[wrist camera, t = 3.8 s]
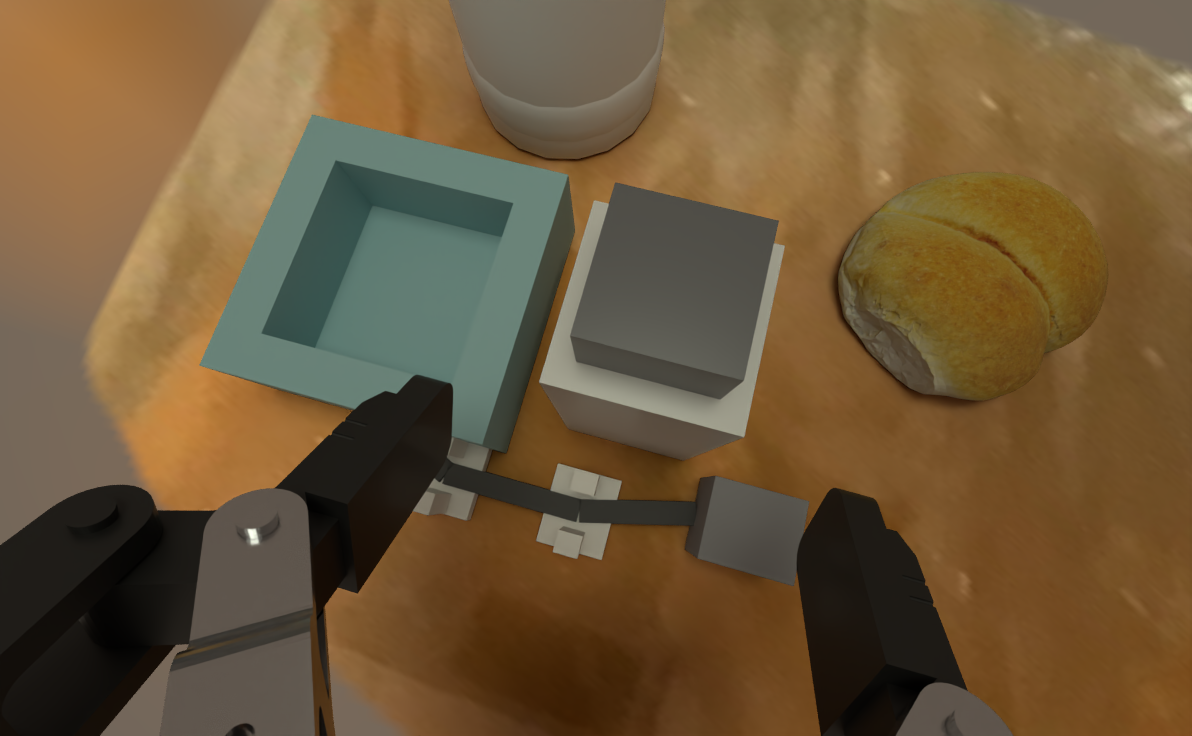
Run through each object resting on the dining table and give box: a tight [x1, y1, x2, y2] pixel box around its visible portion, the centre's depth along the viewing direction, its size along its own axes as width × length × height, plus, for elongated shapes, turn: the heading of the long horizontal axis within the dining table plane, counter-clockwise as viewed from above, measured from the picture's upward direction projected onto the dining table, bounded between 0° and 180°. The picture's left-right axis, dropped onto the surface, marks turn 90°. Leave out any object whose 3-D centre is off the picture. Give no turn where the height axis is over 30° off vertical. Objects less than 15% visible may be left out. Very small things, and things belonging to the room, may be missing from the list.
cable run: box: [413, 437, 809, 586], centre depth 18 cm, size 14×4×3 cm, turn 75°
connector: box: [539, 183, 785, 461], centre depth 15 cm, size 4×4×11 cm
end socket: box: [199, 115, 575, 453], centre depth 19 cm, size 10×10×4 cm
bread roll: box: [838, 172, 1108, 400], centre depth 20 cm, size 8×9×4 cm
